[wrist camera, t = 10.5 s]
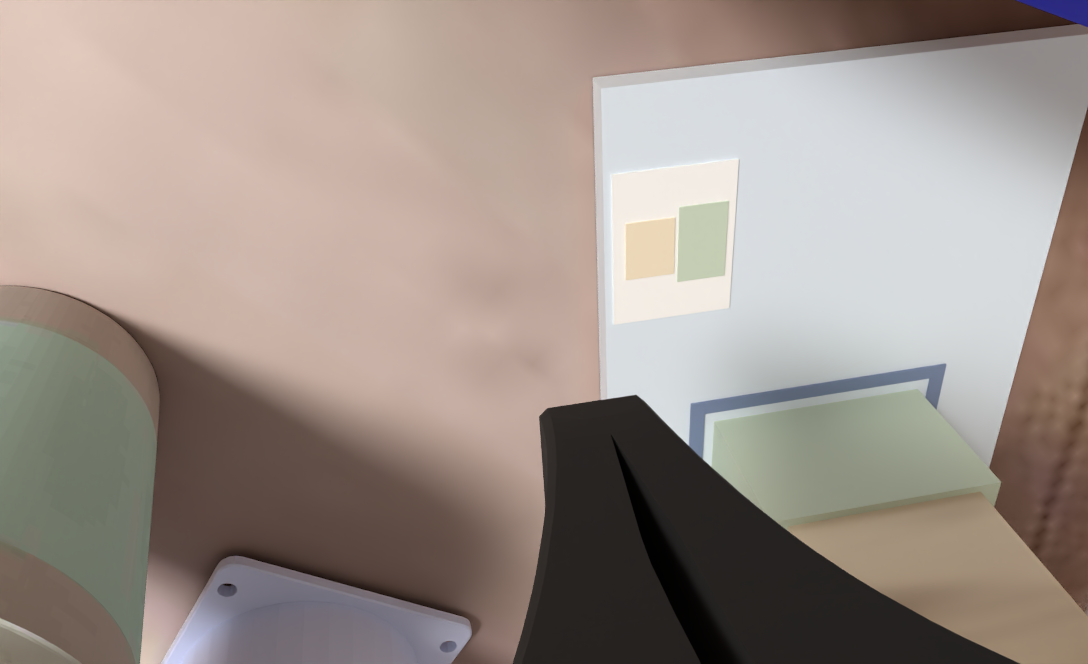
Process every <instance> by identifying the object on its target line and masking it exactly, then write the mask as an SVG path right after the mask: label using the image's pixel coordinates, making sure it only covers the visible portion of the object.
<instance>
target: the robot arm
mask: <svg viewBox="0 0 1088 664" xmlns="http://www.w3.org/2000/svg"><path fill="white" fill-rule="evenodd" d="M539 420H540V434H541V449H542V463H543V477H544V491H545V518H544V526H543V533H542V539H541V546H540V552H539V558H538V564H537V570H536V576H535V580H534V585H533V590H532V594H531V599H530V603H529V607H528V611H527V615H526V619H525V623H524V627H523V631H522V635H521V638H520V641H519V645H518V648H517V651H516V655H515V658H514V661H513V664H1020V663H1018V662H1016V661H1014V660H1011V659H1009V658H1007V657H1005V656H1003V655H1001V654H999V653H996V652H994V651H992V650H990V649H988V648H986V647H984V646H981V645H979V644H977V643H975V642H973V641H971V640H969V639H966V638H964V637H962V636H960V635H958V634H956V633H954V632H952V631H950V630H948V629H947V628H945V627H943V626H941V625H939V624H937V623H935V622H933V621H931V620H929V619H927V618H925V617H924V616H922V615H920V614H918V613H916V612H915V611H913V610H911V609H909V608H907V607H906V606H904V605H902V604H900V603H898V602H897V601H895V600H893V599H891V598H889V597H888V596H886V595H884V594H882V593H880V592H879V591H877V590H875V589H874V588H872V587H870V586H869V585H867V584H865V583H864V582H862V581H860V580H859V579H857V578H855V577H854V576H852V575H851V574H849V573H848V572H846V571H845V570H843V569H842V568H840V567H839V566H837V565H836V564H834V563H833V562H831V561H830V560H828V559H827V558H825V557H824V556H822V555H820V554H819V553H817V552H816V551H815V550H813V549H812V548H810V547H809V546H808V545H806V544H805V543H803V542H802V541H801V540H799V539H798V538H797V537H795V536H794V535H793V534H791V533H790V532H789V531H787V530H786V529H785V528H784V527H782V526H781V525H780V524H778V523H777V522H776V521H775V520H773V519H772V518H771V517H770V516H768V515H767V514H766V513H764V512H763V511H762V510H761V509H759V508H758V507H757V506H756V505H755V504H753V503H752V502H751V501H750V500H749V499H747V498H746V497H745V496H744V495H743V494H741V493H740V492H739V491H738V490H737V489H736V488H735V487H733V486H732V485H731V484H730V483H729V482H728V481H727V480H726V479H724V478H723V477H722V476H721V475H720V474H719V473H718V472H716V471H715V470H714V469H713V468H712V467H711V466H710V465H709V464H708V463H706V462H705V461H704V460H703V459H702V458H701V457H700V456H699V455H698V454H697V453H696V452H695V451H694V450H693V449H692V448H691V447H690V446H689V445H687V444H686V443H685V442H684V441H683V440H682V439H681V438H680V437H679V436H678V435H677V434H676V433H675V432H674V431H673V430H672V429H671V428H670V427H669V426H668V425H667V424H666V423H665V422H664V421H663V420H662V419H661V418H660V417H659V416H658V415H657V414H656V413H655V412H654V411H653V409H652V408H651V407H650V406H649V405H648V404H647V403H646V402H645V401H644V400H642V399H641V398H640V397H639V396H637V395H631V396H624V397H618V398H611V399H605V400H598V401H592V402H585V403H579V404H573V405H566V406H560V407H553V408H547V409H546V410H545V411H544V412H543V413H542V414H541V415H540V416H539ZM225 583H229V584H233V585H232V586H224V585H222V584H225ZM471 636H472V630H471V623H470V622H469V620H468V619H466V618H464V617H462V616H458V615H454V614H451V613H447V612H443V611H440V610H436V609H432V608H429V607H425V606H421V605H418V604H414V603H410V602H407V601H403V600H400V599H396V598H392V597H389V596H385V595H381V594H378V593H374V592H370V591H367V590H363V589H359V588H356V587H352V586H348V585H345V584H341V583H337V582H334V581H330V580H327V579H323V578H319V577H316V576H312V575H308V574H305V573H301V572H297V571H294V570H290V569H286V568H283V567H279V566H275V565H272V564H268V563H264V562H261V561H257V560H254V559H250V558H246V557H242V556H230V557H227V558H225V559H222V560H221V561H220V562H219V564H218V565H217V567H216V568H215V570H214V572H213V574H212V575H211V577H210V579H209V581H208V582H207V584H206V586H205V588H204V589H203V591H202V593H201V594H200V596H199V598H198V600H197V601H196V603H195V605H194V607H193V608H192V610H191V612H190V614H189V615H188V617H187V619H186V621H185V622H184V624H183V626H182V628H181V629H180V631H179V633H178V634H177V636H176V638H175V640H174V641H173V643H172V645H171V647H170V648H169V650H168V652H167V654H166V655H165V657H164V659H163V661H162V662H161V664H451V663H452V662H453V661H454V659H455V658H456V657H457V655H458V654H459V653H460V651H461V650H462V649H463V647H464V646H465V645H466V643H467V642H468V641H469V639H470V638H471ZM446 641H450V642H446Z"/></svg>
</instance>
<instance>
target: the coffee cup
mask: <svg viewBox="0 0 1088 664" xmlns="http://www.w3.org/2000/svg"><path fill="white" fill-rule="evenodd" d="M159 408H160V393H159V386H158V382H157V378H156V375H155V372H154V370H153V367H152V365H151V363H150V361H149V359H148V358H147V356H146V354H145V353H144V351H143V350H142V348H141V347H140V346H139V345H138V343H137V342H136V341H135V340H134V339H133V338H132V336H131V335H130V334H129V333H128V332H126V331H125V330H124V329H123V328H122V327H121V326H120V325H119V324H117V323H116V322H115V321H113V320H112V319H111V318H109V317H108V316H106V315H105V314H103V313H101V312H100V311H98V310H96V309H94V308H93V307H91V306H89V305H87V304H85V303H83V302H80V301H78V300H76V299H73V298H70V297H68V296H65V295H62V294H58V293H55V292H51V291H47V290H43V289H37V288H31V287H22V286H0V664H140V654H141V642H142V629H143V617H144V604H145V591H146V579H147V566H148V554H149V541H150V528H151V516H152V503H153V491H154V478H155V465H156V452H157V436H158V422H159Z"/></svg>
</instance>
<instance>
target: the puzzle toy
mask: <svg viewBox="0 0 1088 664" xmlns="http://www.w3.org/2000/svg"><path fill="white" fill-rule="evenodd" d="M1016 1H1019V2H1021V3H1024V4H1027V5H1029V6H1032V7H1035V8H1037V9H1040V10H1043V11H1045V12H1048V13H1051V14H1053V15H1056V16H1059V17H1061V18H1064V19H1067V20H1069V21H1072V22H1075V23H1078V24H1080V25H1083V26H1086V27H1088V0H1016Z"/></svg>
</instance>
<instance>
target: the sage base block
mask: <svg viewBox="0 0 1088 664" xmlns="http://www.w3.org/2000/svg"><path fill="white" fill-rule="evenodd" d="M712 468H713V469H714V470H715V471H716V472H718V473H719V474H720V475H721V476H722V477H723V478H724V479H726V480H727V481H728V482H729V483H730V484H731V485H732V486H733V487H735V488H736V489H737V490H738V491H739V492H740V493H741V494H743V495H744V496H745V497H746V498H747V499H749V500H750V501H751V502H752V503H753V504H755V505H756V506H757V507H758V508H759V509H761V510H762V511H763V512H764V513H766V514H767V515H768V516H770V517H771V518H772V519H773V520H775V521H776V522H777V523H778V524H780V525H781V526H782V527H784V528H785V529H786V530H787V531H788V527H789V526H794V525H799V524H805V523H810V522H816V521H821V520H827V519H832V518H838V517H843V516H849V515H854V514H860V513H865V512H871V511H876V510H882V509H887V508H893V507H898V506H904V505H909V504H915V503H920V502H926V501H931V500H937V499H942V498H948V497H953V496H958V495H964V494H969V493H975V492H981V493H982V494H983V495H984V496H985V497H986V499H987V500H988V501H989V502H990V503H991V504H992V506H993V507H994V506H995V502H996V499H997V495H998V492H999V488H1000V485H1001V481H1000V480H999V479H998V478H997V477H996V476H995V475H994V473H993V472H992V471H991V470H990V469H989V468H988V467H987V466H986V465H985V463H984V462H983V461H982V460H981V459H980V458H979V457H978V456H977V455H976V453H975V452H974V451H973V450H972V449H971V448H970V447H969V446H968V444H967V443H966V442H965V441H964V440H963V439H962V438H961V437H960V436H959V434H958V433H957V432H956V431H955V430H954V429H953V428H952V427H951V426H950V424H949V423H948V422H947V421H946V420H945V419H944V418H943V417H942V416H941V414H940V413H939V412H938V411H937V410H936V409H935V408H934V407H933V406H932V404H931V403H930V402H929V401H928V400H927V399H926V398H925V397H924V396H923V394H922V393H921V392H920V391H919V390H918V389H914V390H908V391H901V392H895V393H889V394H883V395H876V396H870V397H864V398H858V399H851V400H845V401H839V402H833V403H826V404H820V405H814V406H808V407H801V408H795V409H789V410H783V411H777V412H770V413H764V414H758V415H752V416H745V417H739V418H733V419H727V420H720V421H714V433H713V450H712Z"/></svg>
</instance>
